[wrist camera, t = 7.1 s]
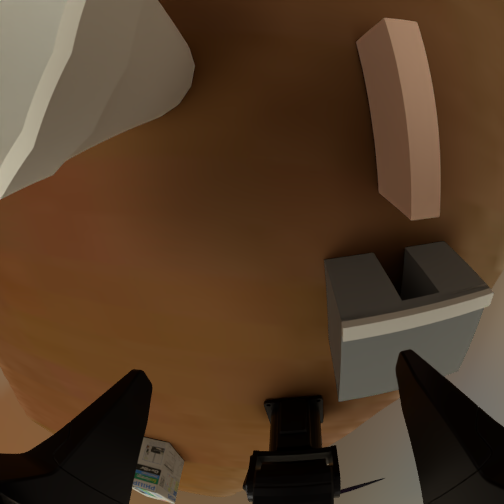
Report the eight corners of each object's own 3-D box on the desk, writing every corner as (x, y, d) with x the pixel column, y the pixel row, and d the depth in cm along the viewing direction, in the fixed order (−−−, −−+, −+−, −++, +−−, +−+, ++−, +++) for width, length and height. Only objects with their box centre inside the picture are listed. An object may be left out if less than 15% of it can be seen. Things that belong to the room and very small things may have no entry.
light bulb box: (136, 434, 38) (119, 482, 29) (170, 441, 37) (155, 493, 28) (155, 455, 43) (143, 496, 33) (185, 461, 42) (175, 504, 33)
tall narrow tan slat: (402, 190, 16) (439, 216, 12) (378, 192, 16) (411, 220, 12) (381, 42, 12) (416, 21, 7) (355, 41, 12) (384, 17, 8)
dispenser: (430, 319, 21) (460, 375, 15) (328, 339, 23) (339, 407, 16) (443, 241, 18) (493, 292, 11) (324, 259, 19) (343, 328, 13)
